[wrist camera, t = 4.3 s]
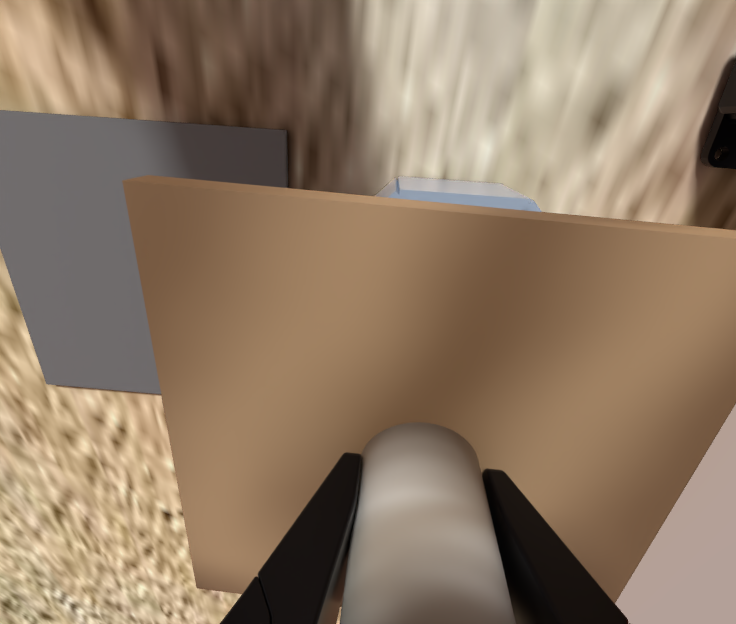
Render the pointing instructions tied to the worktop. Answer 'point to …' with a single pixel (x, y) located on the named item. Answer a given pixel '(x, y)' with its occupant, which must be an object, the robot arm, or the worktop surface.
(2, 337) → the worktop surface
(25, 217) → the mat
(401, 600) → the lid
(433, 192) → the bowl
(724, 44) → the worktop surface
